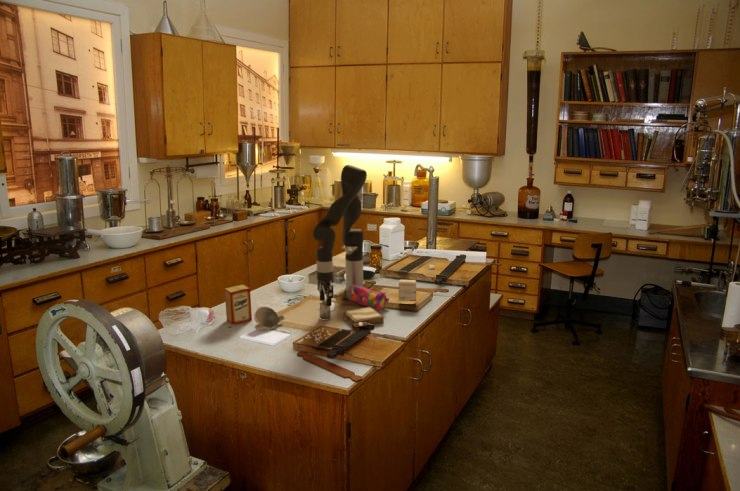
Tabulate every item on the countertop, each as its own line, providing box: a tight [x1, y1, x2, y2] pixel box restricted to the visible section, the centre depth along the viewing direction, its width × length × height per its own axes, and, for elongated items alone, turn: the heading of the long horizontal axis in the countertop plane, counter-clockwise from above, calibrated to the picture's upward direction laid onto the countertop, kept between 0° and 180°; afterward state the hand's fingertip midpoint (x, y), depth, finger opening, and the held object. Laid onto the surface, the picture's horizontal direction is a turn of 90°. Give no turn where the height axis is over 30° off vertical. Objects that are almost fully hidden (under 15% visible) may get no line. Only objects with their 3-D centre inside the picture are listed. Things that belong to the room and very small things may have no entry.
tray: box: [342, 306, 385, 326], centre depth 260 cm, size 14×14×3 cm
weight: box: [318, 300, 332, 320], centre depth 262 cm, size 5×5×8 cm
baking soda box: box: [224, 284, 253, 325], centre depth 258 cm, size 10×6×16 cm
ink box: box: [398, 279, 417, 302], centre depth 280 cm, size 9×5×12 cm, turn 84°
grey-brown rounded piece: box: [253, 306, 286, 331], centre depth 253 cm, size 15×8×11 cm, turn 138°
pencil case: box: [345, 284, 390, 311], centre depth 278 cm, size 22×9×9 cm, turn 51°
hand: (325, 303), depth 260 cm, fingers open, 8 cm apart
